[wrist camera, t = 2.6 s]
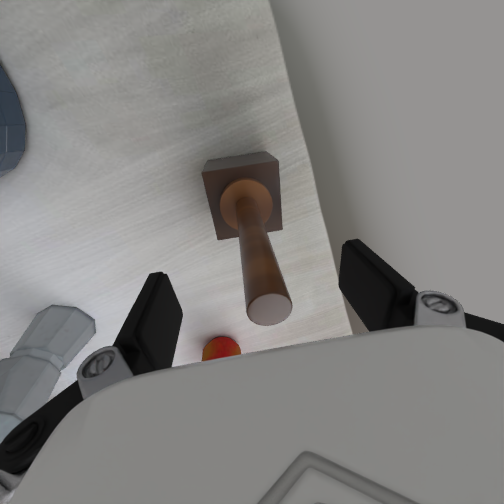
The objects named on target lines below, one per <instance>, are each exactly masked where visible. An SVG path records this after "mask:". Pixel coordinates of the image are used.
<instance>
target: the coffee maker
mask: <svg viewBox="0 0 504 504" xmlns="http://www.w3.org/2000/svg"><path fill="white" fill-rule="evenodd" d="M95 333H96V329H95V320H94V319H93V318H91V317H90V316H88V315H87V314H85V313H84V312H83V311H81V310H80V309H78V308H75V307H67V306H58V305H51V306H50V307H48V308H46V309H45V310H43V311H41V312H39V313H38V314H37V315H36V317H35V318H34V319H33V321H32V322H31V324H30V325H29V327H28V328H27V330H26V331H25V332H24V334H23V335H22V337H21V338H20V340H19V341H18V343H17V344H16V345H15V347H14V348H13V350H12V351H11V353H10V358H6V359H2V360H1V361H0V444H1V442H2V441H3V440H4V438H5V437H6V436H7V435H8V434H9V433H10V432H11V431H12V429H14V428H15V427H16V426H17V425H18V424H20V423H21V422H22V421H23V420H25V419H26V418H27V417H29V416H30V415H31V414H33V413H34V412H35V411H37V410H38V409H39V408H41V407H42V406H43V405H45V404H46V402H47V400H48V398H49V396H50V394H51V392H52V391H53V389H54V387H55V385H56V383H57V381H58V379H59V377H60V375H61V373H60V371H61V370H63V369H64V368H66V367H67V365H68V364H69V363H70V362H71V361H72V360H73V358H74V357H75V356H76V355H77V354H78V353H79V352H80V350H81V349H82V348H83V347H84V346H85V345H86V344H87V342H88V341H89V340H90V339H91V338H92V337H93V336H94V334H95Z"/></svg>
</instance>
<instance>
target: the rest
mask: <svg viewBox="0 0 504 504" xmlns="http://www.w3.org/2000/svg"><path fill="white" fill-rule="evenodd" d="M202 177H203V181H204V185H205V189H206V193H207V197H208V201H209V206H210V210H211V214H212V218H213V222H214V226H215V231H216V235H217V239H218V240H223V239H229V238H235V237H239V234H238V230H237V229H234V228H232V227H231V226H229V225H228V224H227V223H226V222H225V221H224V219H223V217H222V215H221V212H220V198H221V194H222V192H223V190H224V189H225V187H226V186H227V185H228V184H229V183H231V182H232V181H234V180H236V179H239V178H253V179H256V180H258V181H260V182H261V183H262V184H263V185H264V186H265V187H266V188H267V190H268V191H269V193H270V195H271V198H272V203H273V207H272V212H271V215H270V217H269V219H268V220H267V221H266V222H265V223H264V226H265V229H266V232H273V231H279V230H282V229H283V228H282V211H281V194H280V177H279V161H278V160H277V159H276V158H274V157H273V156H272V155H270V154H269V153H268V152H267V151H265V152H258V153H252V154H245V155H239V156H232V157H226V158H219V159H213V160H208V161H207V163H206V165H205V167H204V169H203V171H202Z"/></svg>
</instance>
